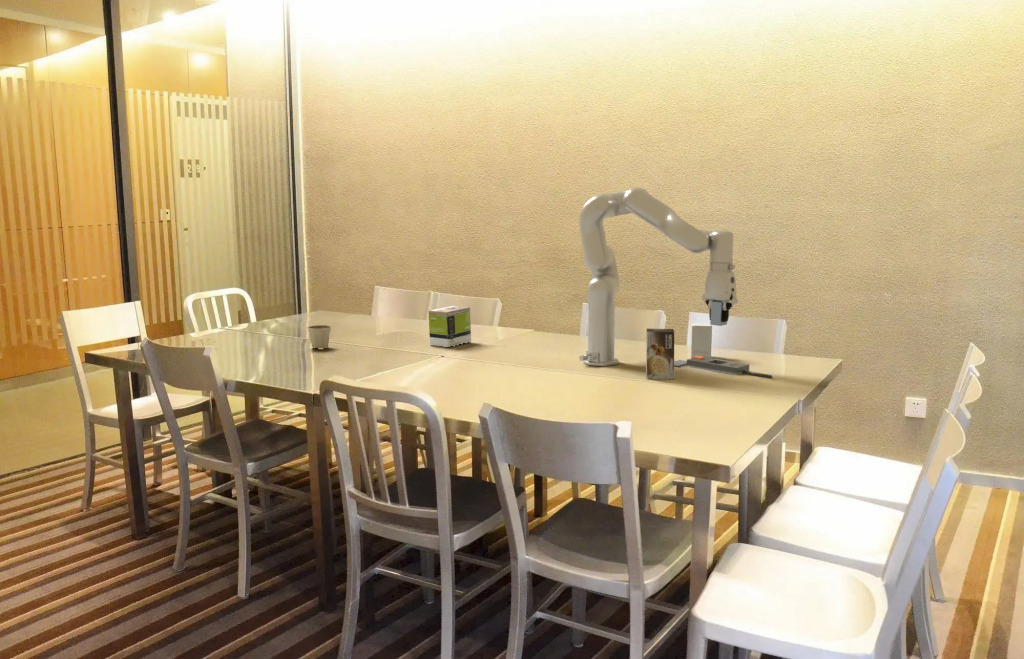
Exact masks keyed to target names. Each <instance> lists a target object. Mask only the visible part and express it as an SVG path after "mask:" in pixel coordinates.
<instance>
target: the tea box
mask: <svg viewBox="0 0 1024 659" xmlns="http://www.w3.org/2000/svg"><path fill="white" fill-rule="evenodd" d="M471 322H472V321H471V308H470V307H469V306H468V307H467V306H457V305H450V306H445V307H439V308H435V309H430V310H428V329H429V331H428V332H429V333H428V334H429V345H430V346H431V345H437V346H445V347H450V346H453V347H455V346H454V345H457V346H460V345H459V344H461V345H463V343H465V344H468V342H469V343H472V328H471V327H472V326H471ZM450 348H451V347H450Z"/></svg>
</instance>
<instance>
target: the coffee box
mask: <svg viewBox="0 0 1024 659" xmlns="http://www.w3.org/2000/svg"><path fill="white" fill-rule="evenodd" d="M645 352H646V353H645V355H646V356H645V357H646V358H645V362H646V363H645V367H646V368H645V370H646V371H645V375H646V379H647V378H648V379H647V380H675V367H674V361H675V330H674V328H646V351H645Z"/></svg>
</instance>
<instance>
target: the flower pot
mask: <svg viewBox="0 0 1024 659" xmlns="http://www.w3.org/2000/svg"><path fill="white" fill-rule="evenodd" d="M306 329H308V333H309V338H310V343H311V348H312V347H313V348H326V347H328V348H329V342H330V341H329V340H330V332H331V331H332V330H331V329H332V326H331V325H329V324H319V325H318V324H314V325H308V326H307V327H306ZM313 348H312V349H313ZM326 349H327V348H326Z"/></svg>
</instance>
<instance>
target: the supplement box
mask: <svg viewBox="0 0 1024 659" xmlns="http://www.w3.org/2000/svg"><path fill="white" fill-rule="evenodd" d="M690 333H691V334H690V359H691V358H692V356H701V357H707V358H712V342H713V341H712V338H713V337H712V336H713V325H710V322H692V323H691V330H690Z"/></svg>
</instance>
